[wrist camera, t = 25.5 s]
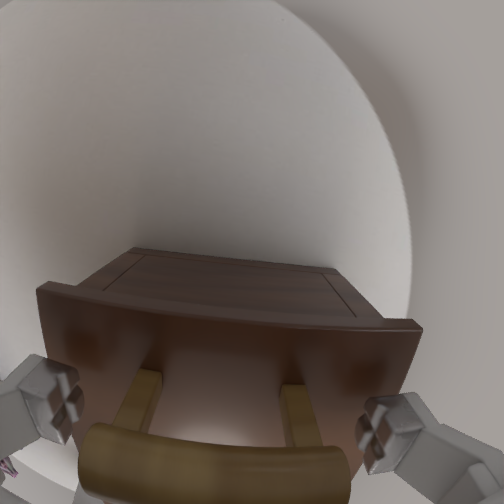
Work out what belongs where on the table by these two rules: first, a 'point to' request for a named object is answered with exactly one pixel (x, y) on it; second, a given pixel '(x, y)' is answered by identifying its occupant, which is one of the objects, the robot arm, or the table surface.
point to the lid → (219, 396)
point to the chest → (231, 284)
